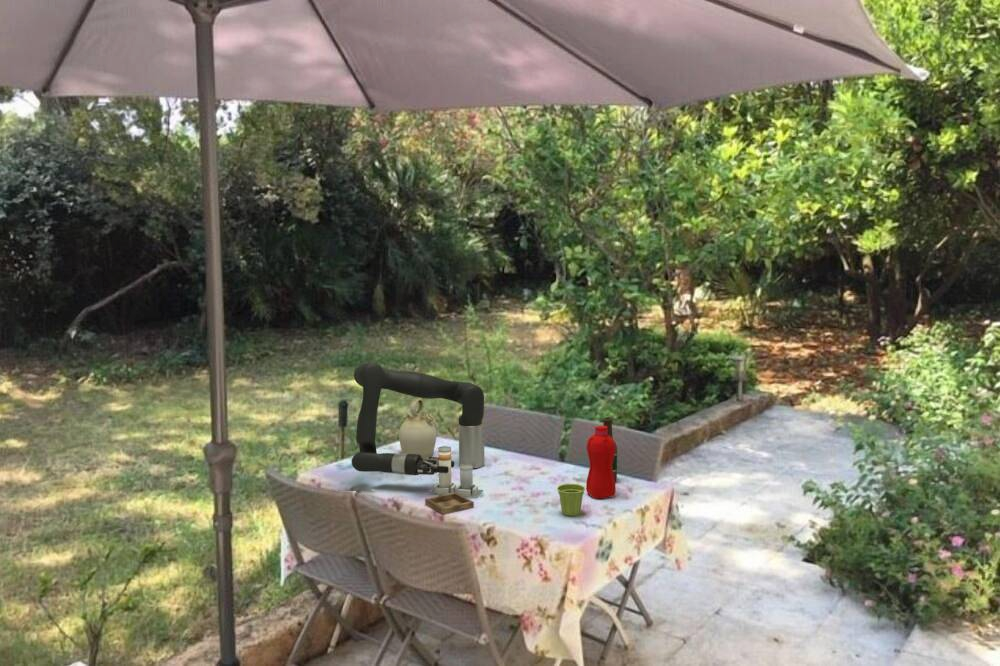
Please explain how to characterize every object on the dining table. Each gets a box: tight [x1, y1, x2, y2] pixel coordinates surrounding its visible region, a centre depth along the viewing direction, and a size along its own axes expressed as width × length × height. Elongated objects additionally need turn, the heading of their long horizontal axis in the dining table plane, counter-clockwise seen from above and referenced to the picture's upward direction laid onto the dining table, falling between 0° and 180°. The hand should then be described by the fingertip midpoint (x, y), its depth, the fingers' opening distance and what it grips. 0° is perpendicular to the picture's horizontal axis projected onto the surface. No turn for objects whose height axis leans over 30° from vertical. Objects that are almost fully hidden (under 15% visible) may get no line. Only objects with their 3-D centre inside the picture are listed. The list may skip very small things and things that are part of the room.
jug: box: [398, 397, 437, 460], centre depth 336 cm, size 15×16×25 cm
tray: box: [424, 492, 475, 516], centre depth 276 cm, size 12×12×3 cm
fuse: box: [459, 464, 474, 494], centre depth 288 cm, size 4×4×10 cm
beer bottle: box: [602, 416, 618, 483], centre depth 302 cm, size 8×8×24 cm
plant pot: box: [556, 483, 586, 517], centre depth 270 cm, size 9×9×9 cm
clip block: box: [427, 482, 484, 499], centre depth 290 cm, size 18×9×3 cm, turn 76°
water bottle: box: [585, 425, 617, 500], centre depth 287 cm, size 9×11×25 cm
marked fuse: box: [437, 445, 452, 493], centre depth 290 cm, size 5×5×16 cm
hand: (451, 466), depth 289 cm, fingers open, 6 cm apart
